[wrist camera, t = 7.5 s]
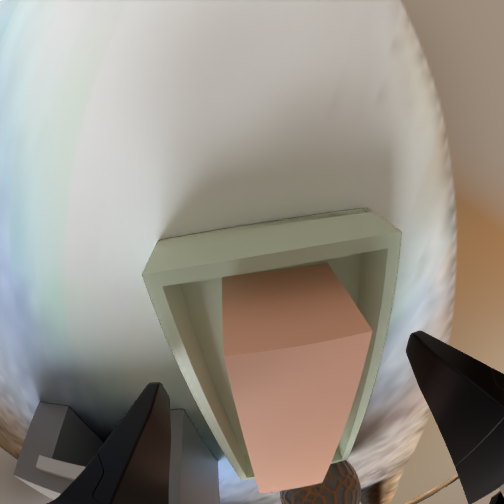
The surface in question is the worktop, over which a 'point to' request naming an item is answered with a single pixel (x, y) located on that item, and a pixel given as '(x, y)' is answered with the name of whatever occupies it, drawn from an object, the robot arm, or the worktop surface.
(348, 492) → the vase
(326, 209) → the worktop surface
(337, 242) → the tray
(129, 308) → the worktop surface
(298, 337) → the pink square pillar
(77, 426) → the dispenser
